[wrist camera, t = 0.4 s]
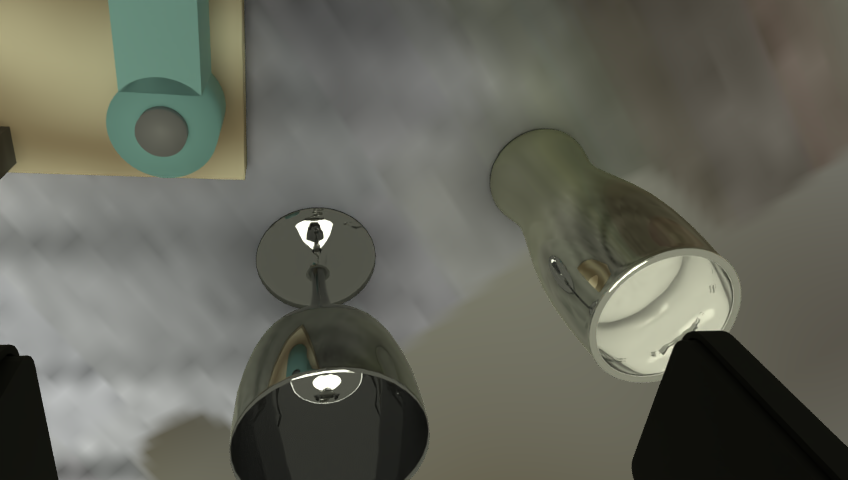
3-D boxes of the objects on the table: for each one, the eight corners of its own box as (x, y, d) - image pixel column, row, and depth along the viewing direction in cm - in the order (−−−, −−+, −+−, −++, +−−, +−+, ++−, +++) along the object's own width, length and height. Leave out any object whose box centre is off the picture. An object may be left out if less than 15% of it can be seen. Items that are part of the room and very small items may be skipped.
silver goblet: (257, 321, 39) (244, 531, 26) (239, 207, 35) (213, 386, 22) (384, 307, 41) (430, 500, 28) (380, 195, 37) (430, 358, 24)
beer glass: (465, 152, 36) (564, 293, 24) (575, 100, 36) (735, 214, 23) (503, 244, 40) (607, 411, 27) (603, 198, 40) (756, 344, 27)
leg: (96, -196, 24) (59, -214, 20) (217, -178, 25) (203, -191, 21) (131, 144, 30) (109, 181, 26) (227, 148, 31) (218, 184, 27)
